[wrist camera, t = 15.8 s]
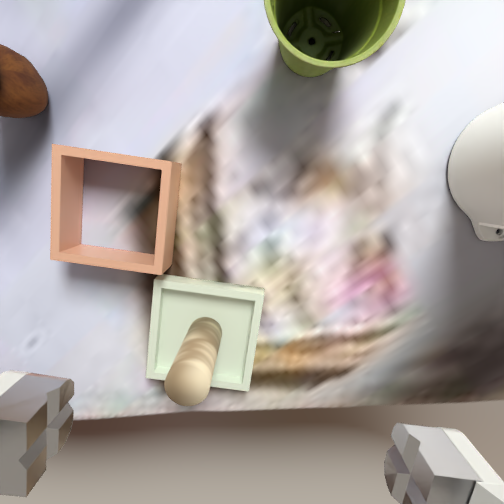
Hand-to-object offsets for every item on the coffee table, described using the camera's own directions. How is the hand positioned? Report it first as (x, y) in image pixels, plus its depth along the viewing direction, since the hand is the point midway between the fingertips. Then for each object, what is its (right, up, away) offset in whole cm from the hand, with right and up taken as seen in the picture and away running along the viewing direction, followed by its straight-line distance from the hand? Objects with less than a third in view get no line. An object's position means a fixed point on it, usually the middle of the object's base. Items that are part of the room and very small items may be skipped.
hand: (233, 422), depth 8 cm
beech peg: (-6, -7, +36) cm, 37 cm away
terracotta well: (-16, +10, +34) cm, 39 cm away
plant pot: (+7, +28, +30) cm, 42 cm away
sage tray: (-6, -6, +37) cm, 38 cm away
